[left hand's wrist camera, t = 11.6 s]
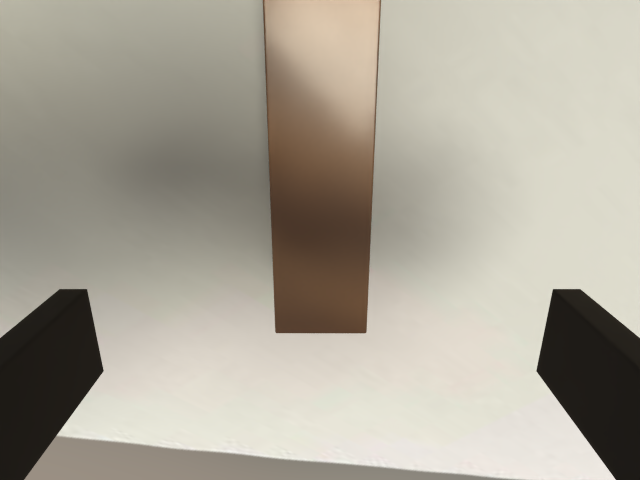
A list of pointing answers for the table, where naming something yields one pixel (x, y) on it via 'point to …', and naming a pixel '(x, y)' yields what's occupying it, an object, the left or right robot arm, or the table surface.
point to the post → (321, 159)
